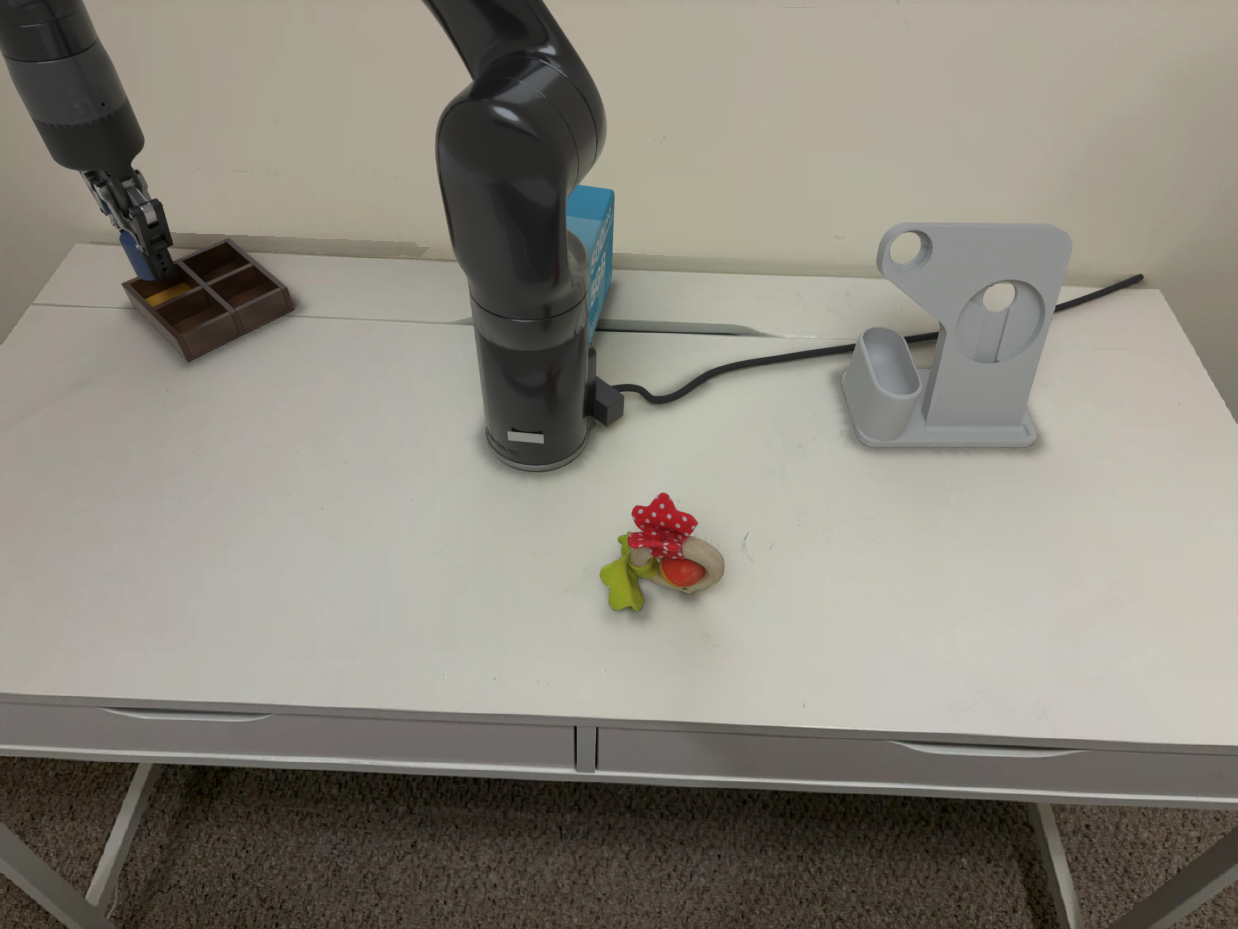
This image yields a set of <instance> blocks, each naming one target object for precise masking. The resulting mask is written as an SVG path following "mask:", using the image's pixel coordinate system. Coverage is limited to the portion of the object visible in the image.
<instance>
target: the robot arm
mask: <svg viewBox="0 0 1238 929" xmlns="http://www.w3.org/2000/svg"><path fill="white" fill-rule="evenodd" d="M420 2H421V3H422V4H423V6H425V7H426V8H427V10H429V12H430V14H431V15H432V16H433V18H434V19H435V21H436V22H437V23H438V24H439V26H440V27H441V29H442V31H443V32H444V34H445V35H446V37H447V39H448V40H449V41H450V43H451V45H452V46H453V49H454V50H455V52H456V53H457V55H458V57H459V58H460V60H461V62H462V63H463V65H464V68H465V69H466V71H467V73H468V75H469V77H470V79H471V82H470V83H469V84H468V85H467V86H465V87H464V88H463V89H462V90H461V91H460V92H459V93H457V94H456V95H455V96H454V97H453V98H452V99H451V100H450V101H449V102H448V103H447V104H446V105H445V107H444V108H443V109H442V111H441V113H440V115H439V118H438V121H437V124H436V128H435V135H434V139H435V140H434V157H435V167H436V174H437V180H438V185H439V190H440V195H441V200H442V204H443V210H444V215H445V221H446V225H447V232H448V236H449V241H450V243H451V249H452V252H453V255H454V257H455V259H456V262H457V264H458V265H459V267H460V268H461V270H462V272H463V274H465V276H466V281H467V286H468V294H469V301H470V310H471V317H472V324H473V332H474V341H475V348H476V356H477V357H476V358H477V364H478V373H479V379H480V381H479V382H480V388H481V396H482V404H483V413H484V420H485V437H486V438H485V439H486V442H487V446H488V447H489V450H490V451H491V453H493V455H494V457H496V458H497V459H498V460H499V461H501V462H502V463H504V464H506V465H507V466H510V467H512V468H513V469H518V470H520V471H526V472H527V471H528V472H544V471H551V470H555V469H557V468H560V467H561V468H562V467H563V466H565V465H567V464H569V463H571V462H572V461H573V460H575V459H576V458H578V456H579V455H580V454H581V453H582V452H583V450H584V449H585V447H586V445H587V442H588V440H589V432H590V431H591V430H592V429H593V428H595V427H596V421H598V422H599V423H600V424H602V425H603V426H604V427H606V428H608V427H610V426H611V425H612V424H613V423H615V422H617V421H618V420H619V419H621V418H623V416H624V412H625V398H626V396H625V395H624V394H623V393H635V394H639V395H640V396H641V397H642V398H643V399H644V400H646V402H649V403H651V404H655V405H660V404H661V405H662V404H668V403H671V402H674V401H677V400H679V399H680V398H682V397H684V396H686V395H687V394H689V393H690V392H692V391H693V390H694V389H695V388H697V387H698V386H700V385H701V384H703V383H704V382H706V381H708V380H710V379H711V378H713V377H716V376H718V375H721V374H725V373H729V372H733V371H737V370H741V369H746V368H752V367H757V366H765V365H772V364H778V363H786V362H791V361H796V360H803V359H810V358H816V357H823V356H829V355H837V354H844V353H850V352H854V349H855V346H856V343H849V344H842V345H835V346H827V347H821V348H815V349H808V350H800V351H795V352H789V353H782V354H777V355H770V356H763V357H756V358H749V359H743V360H740V361H739V360H738V361H735V362H731V363H727V364H723V365H720V366H716V367H713V368H711V369H709V370H707V371H704V372H702V374H699V375H698V376H697V377H695V378H693V379H692V380H690V382H687V384H686V385H684V386H682V387H681V388H680V389H678V390H676V391H674V392H672V393H669V394H665V395H653V394H652V393H650V391H649V390H648V389H646V388H645V387H644V386H642V385H639V384H636V383H635V384H634V383H621V384H613V385H610V384H609V383H607V382H606V381H605V380H603V379H602V378H600V377H599V376H598V375H597V368H598V367H597V366H598V364H597V363H598V360H597V358H598V352H597V349H596V348H595V347H594V346H593V345H592V344H591V343H590V344H589V343H588V342H589V257H588V253H587V250H586V247H585V245H584V244H583V242H582V241H581V240H580V239H579V237H577V236H576V235H575V234H574V233H573V232H571V231H570V230H568V229H567V220H566V207H567V198H568V197H569V196H570V194H571V193H572V192H573V191H574V190H575V188H576V187H577V186H578V185H580V184H581V182H582V181H583V180H584V179H585V178H586V177H587V175H588V174H589V173H590V171H591V170H592V169H593V167H594V166H595V165H596V163H597V162H598V160H599V159H600V157H601V155H602V153H603V150H604V148H605V145H606V141H607V136H608V120H607V112H606V110H605V109H606V108H605V105H604V102H603V99H602V96H601V93H600V91H599V89H598V86H597V85H596V83H595V80H594V79H593V77H592V75H591V73H590V71H589V70H588V67H587V66H586V65H585V63H584V61H583V59H582V57H581V56H580V55H579V53H578V51H577V50H576V49H575V47H574V45H573V44H572V43H571V41H570V40H569V38H568V36H567V35H566V33H565V32H564V30H563V29H562V26H560V24H559V23H558V21H557V19H556V18H555V17H554V15H553V14H552V12H551V11H550V9H549V7H548V5H546V3H545V2H544V0H420ZM0 54H1V56H2V58H3V60H4V63H5V65H6V69H7V71H8V74H9V77H10V79H11V82H12V84H13V85H14V88H15V90H16V92H17V93H18V96H19V97H20V100H21V101H22V103H23V105H24V107H25V109H26V111H27V112H28V115H29V116H30V118H31V120H32V122H33V124H34V126H35V128H36V130H37V132H38V134H39V135H40V138H41V139H42V141H43V143H44V145H45V147H46V149H47V151H48V153H49V155H50V157H51V158H52V160H53V161H54V162H55V163H56V164H57V165H59V166H60V167H63V168H65V169H68V170H72V171H77V172H78V173H79V174H80V176H81V178H82V180H83V181H84V183H85V185H86V186H87V188H88V190H89V191H90V193H91V195H92V197H93V199H94V200H95V202H96V204H97V206H98V207H99V211H100V212H101V213H102V214H103V215H104V216H106V217H108V218H109V220H110V224H111V225H112V227H113V228H115V229H116V230H118V232H119V234H120V235H121V234H122V233H123V232H124V231H129V233H130V235H131V237H132V239H133V241H134V242H135V244H136V245H135V246H136V248H137V249H138V250H139V251H140V253H141V255H142V257H143V259H144V261H145V263H146V266H147V268H148V270H149V272H150V274H151V276H152V278H153V279H154V280H155V281H157V282H163V281H165V280H168V279H170V278H172V277H174V276H176V275H177V270H176V268H175V265H174V263H173V261H174V260H173V258H172V259H171V257H172V256H171V257H170V255H171V253H170V251H169V248H170V247H172V246H174V240H173V238H172V234H171V231H170V227H169V224H168V220H167V219H168V218H167V216H166V212H165V208H164V205H163V203H162V202H161V201H160V200H159V199H158V198H156V197H155V198H152V196H151V194H150V193H149V191H148V189H149V185H148V183H147V181H146V178H145V177H144V175H143V173H142V172H141V170H140V169H139V168H135V169H134V167H133V166H132V163H133V161H134V159H135V158H136V157H137V156H138V155H139V154H140V153H141V152H142V151H143V149H144V147H145V143H146V139H145V138H146V137H145V135H144V132H143V129H142V128H141V126H140V123H139V121H138V119H137V116H136V113H135V111H134V109H133V107H132V104H131V102H130V99H129V97H128V95H127V92H126V90H125V88H124V85H123V83H122V80H121V78H120V76H119V74H118V71H117V69H116V66H115V64H114V62H113V60H112V59H111V57H110V54H109V53H108V51H107V49H106V47H105V46H104V44H103V43H102V41H101V39H100V37H99V35H98V32H97V31H96V27H95V25H94V23H93V21H92V18H91V16H90V13H89V11H88V9H87V7H86V4H85V2H84V0H0ZM167 249H168V250H167ZM168 251H169V252H168ZM169 253H170V254H169ZM172 260H173V261H172ZM1144 279H1145V276H1144V274H1142V273H1138V274H1136V275H1133V276H1130V277H1129V278H1126V279H1124V280H1122V281H1119V282H1117V283H1114V284H1112V285H1109V286H1107V287H1104V288H1102V289H1099V290H1096V291H1093V292H1090V293H1088V294H1085V295H1082V296H1079V297H1077V298H1074V299H1070V300H1067V301H1065V302H1061V303H1058V304H1056V307H1055V310H1054V314H1055V313H1058V312H1061V311H1065V310H1068V309H1071V308H1074V307H1075V306H1079V305H1082V304H1085V303H1087V302H1090V301H1093V300H1095V299H1098V298H1101V297H1103V296H1106V295H1109V294H1112V293H1113V292H1116V291H1119V290H1121V289H1124V288H1126V287H1129V286H1131V285H1134V284H1135V283H1138V282H1140V281H1143V280H1144ZM938 335H939V330H938V331H931V332H927V333H919V334H915V335H908V336H907V335H906V336H903V337H904V339H905V340H906V342H907V345H908V344H913V343H921V342H926V341H927V342H928V341H932V340H937V339H938Z"/></svg>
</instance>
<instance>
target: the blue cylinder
mask: <svg viewBox="0 0 1238 929" xmlns="http://www.w3.org/2000/svg"><path fill="white" fill-rule="evenodd" d="M118 238H119V239H118V240H119V244H120V245H121V246H122V248H123V251H124V253H125V255H126V257H127V258H128V261H129V263H130V264H131V266H132V269H133V271H134V274H135V275H136V277H139V278H140V279H143V280H148V281H152V280H154V279H153V278H152V276H151V274H150V272H149V270H148V268H147V266H146V263H145V261H144V259H143V257H142V255H141V253H140V251H139V250H138V249H137V248H136V246H135V245H136V244H135V242H134V241H133V239H132V237H131V235H130V233H129V231H124V232H123V233H122V234H120V235H119V237H118ZM167 250H168V252H169V254H170V257H171V259H172V261H174V260H173V258H172V256H171V253H170V250H169V248H167ZM173 263H174V262H173ZM174 265H175V264H174Z"/></svg>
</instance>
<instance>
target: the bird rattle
mask: <svg viewBox="0 0 1238 929" xmlns="http://www.w3.org/2000/svg"><path fill="white" fill-rule="evenodd" d="M631 518H632V520H633V523H634V524H635V526H636V527H637V528H638V529H639V530H640V531H633V532H631V531H629V530H628V531H627V532H626V533H625V534H621V535H619V536H618V537H617V542H618V543H619V545H621V548H620V553H621V557H620V558H618V559H616V560H614V561H612V562H611V563H608V564H605V565H604V566H603V567H601V569H600V572H599V578H600V581H601V582H602V583H603V585H604V586H606V587H607V588H609V593H608V600H607V601H608V606H609V607H611V608H612V610H614V611H621V610H624V609H626V608H629V607H631V608H632V610H633V611H634V612H636V613H637V612H640V611H641V610H642V609H643V606H644V603H645V597H644V595H643V592H642V590H641V586H640V584H639V581H638V577H639V578H641V579H646V580H648V581H649V582H652V583H654V584H657V585H659V586H662V587H665V588H669V589H674V590H678V591H681V592H683V593H685V594H687V595H691V594H693V593H695V592H696V591H700V590H704V589H708V588H710V587H713V586H714V585H716V584H718V583H719V582H720V581H721V580H722V578H723V576H724V573H725V568H726V562H725V558H724V556H723V554H722V553H721V551H719V549H718V548H717V547H715V546H713V545H712V544H711V543H709V542H707V541H705V540H703V539H702V538H698V537H695V536H693V535H692V533H693V532H694V531H695V530H696V528H697V526H698V525H699V522H698V521H697V519H696V518H695V517H694V515H692V514H691V513H688V512H685V511H681V510H678V509H677V506H676V505H675V503H674V501H673V499H672V498H671V497H670V495H669V493H667V492H660V493H659V494H657V496H655V497H654V498H653V500H652V501H651V502H650V504H649V505H639V504H637V505H635V506H634V507H633V508H632V510H631Z"/></svg>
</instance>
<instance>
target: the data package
mask: <svg viewBox="0 0 1238 929" xmlns="http://www.w3.org/2000/svg"><path fill="white" fill-rule="evenodd" d="M615 194H616V193H615V191H614V190H613V189H612V188H605V187H599V186H591V185H585V184H579V185H578V186H577V187H576V188H575V190H574V191H573V192H572V193H571V194H570V196H569V197H568V198H567V207H566V220H567V229H568V230H570V231H571V232H573V233H574V234H575V235H576V236H577V237H579V239H580V240H581V241H582V242H583V244H584V245H585V247H586V250H587V253H588V257H589V342H588V343H589V344H590V345H591V343H592V340H593V338H594V335H595V331H596V329H597V325H598V322H599V319H600V316H601V314H602V310H603V307H604V304H605V301H606V298H607V295H608V293H609V289H610V287H611V286H610V285H611V281H612V274H613V252H614V251H613V249H614V228H615V227H614V226H615V225H614V224H615V202H616V201H615V197H616V195H615Z"/></svg>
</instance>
